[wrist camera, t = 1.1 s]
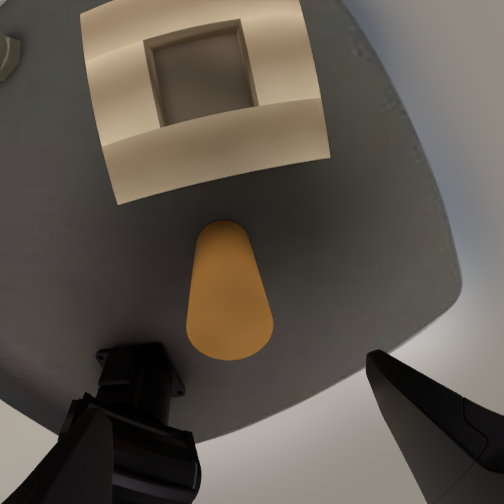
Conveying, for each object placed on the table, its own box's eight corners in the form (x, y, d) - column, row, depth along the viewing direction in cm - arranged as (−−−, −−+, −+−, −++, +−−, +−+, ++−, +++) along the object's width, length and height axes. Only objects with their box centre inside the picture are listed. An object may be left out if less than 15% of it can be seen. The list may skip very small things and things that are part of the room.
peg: (254, 263, 21) (278, 350, 13) (204, 274, 21) (200, 366, 13) (244, 214, 20) (266, 282, 11) (190, 227, 20) (174, 302, 11)
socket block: (313, 152, 18) (330, 157, 16) (131, 193, 18) (117, 205, 15) (278, -13, 14) (289, -32, 11) (97, 27, 13) (80, 14, 10)
